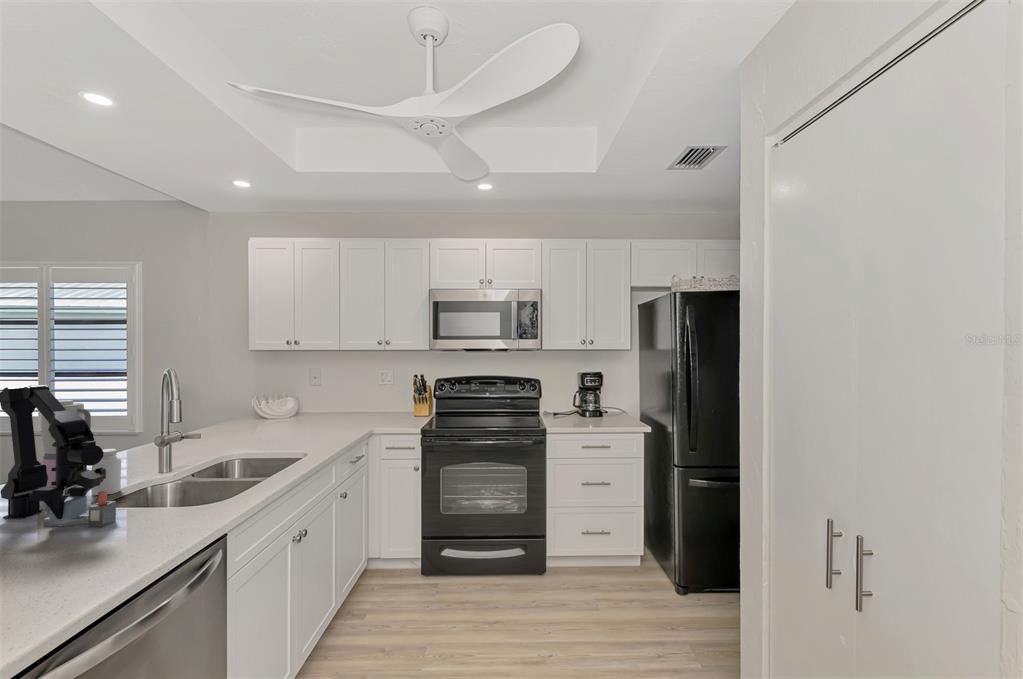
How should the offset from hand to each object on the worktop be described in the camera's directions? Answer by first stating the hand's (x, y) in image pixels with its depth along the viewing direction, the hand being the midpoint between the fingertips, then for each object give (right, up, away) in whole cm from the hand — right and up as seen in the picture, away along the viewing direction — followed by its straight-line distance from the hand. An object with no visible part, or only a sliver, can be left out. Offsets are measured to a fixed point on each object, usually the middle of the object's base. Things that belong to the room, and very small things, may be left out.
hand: (68, 515), depth 144 cm
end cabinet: (+10, -3, 0) cm, 10 cm away
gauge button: (+10, +2, 0) cm, 10 cm away
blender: (-28, -2, +30) cm, 41 cm away
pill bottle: (-13, -3, +29) cm, 32 cm away
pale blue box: (0, 0, 0) cm, 0 cm away
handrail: (+1, -3, 0) cm, 3 cm away
